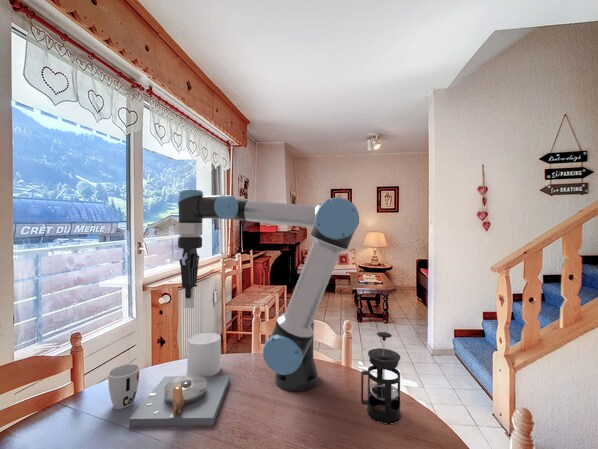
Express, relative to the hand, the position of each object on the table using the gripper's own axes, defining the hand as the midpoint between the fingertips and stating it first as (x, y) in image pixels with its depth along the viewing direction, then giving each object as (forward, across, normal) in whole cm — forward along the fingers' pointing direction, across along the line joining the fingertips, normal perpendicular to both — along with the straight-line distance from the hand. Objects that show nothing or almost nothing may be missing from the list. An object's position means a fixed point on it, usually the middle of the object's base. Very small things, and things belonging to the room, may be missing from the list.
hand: (189, 307), depth 97 cm
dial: (+24, +10, +2) cm, 26 cm away
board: (+26, +8, +2) cm, 28 cm away
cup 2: (+27, -11, +2) cm, 29 cm away
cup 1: (+27, +9, -16) cm, 32 cm away
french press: (+27, +15, +60) cm, 67 cm away
